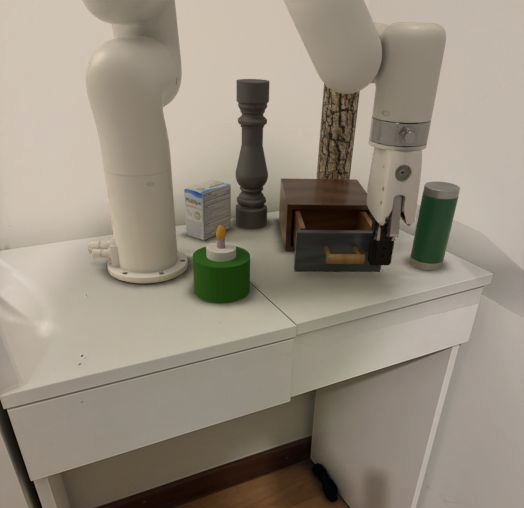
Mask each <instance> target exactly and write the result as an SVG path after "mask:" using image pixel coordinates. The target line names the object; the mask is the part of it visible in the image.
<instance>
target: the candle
mask: <svg viewBox="0 0 524 508" xmlns="http://www.w3.org/2000/svg"><path fill="white" fill-rule="evenodd" d="M226 236H227V230H225V228H224V227H223V226H222V225H220V226H218V228H217V230H216V235H215V237H216V241H214V242H209V243H208V244H206V246H203V247H200V248H198V249H197V250H195V251H194V252H193V253H192V256H191V257H192V274H193V276H192V277H193V293H194V295H195V296H196V297H197V298H198V299H200V300H202V301H205V302H208V303H211V304H231V303H236V302H239V301H241V300H243V299H246V298H247V297H248V296H249V294H250V292H251V253H250V252H249V250H246V249H245V248H243V247H240V246H237V245H236V244H235V243H233V242H229V241H226Z"/></svg>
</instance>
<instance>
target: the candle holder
mask: <svg viewBox="0 0 524 508" xmlns="http://www.w3.org/2000/svg"><path fill="white" fill-rule="evenodd" d="M269 102H270V80H268V79H261V78H260V79H259V78H241V79H240V78H239V79H236V103H237V107H238V109H239V112H240V114H241V115H240V116H239V117H238V118H237V124H239V125H240V128H241V145H240V150H239V154H238V155H239V156H238V159H237V164H236V169H235V180H236V182H237V184H238V185H239V186H240V187H239V190H240V191H241V192H239V194H238V196H237V197H236V202H237V204H236V205H235V225H236V226H237V227H238V228H240V229H241V228H242V229H247V230H257V229H263V228H265V227H266V226H267V225H268V205H266V202H267V197H266V196H265V195H264V193H263V191H264V186H265V185H266V183H267V181H268V179H269V172H268V166H267V162H266V155H265V150H264V146H263V145H264V128H265V126H266V125H267V124H268V119H267V118H266V117H265V116H264V114H265V113H266V110H267V108H268V103H269Z"/></svg>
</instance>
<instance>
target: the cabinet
mask: <svg viewBox="0 0 524 508" xmlns="http://www.w3.org/2000/svg"><path fill="white" fill-rule="evenodd" d="M279 187H280V188H279V206H278V207H279V209H278V210H279V211H278V222H279V227H280V232H281V237H282V242H283V247H284V248H283V249H284V251H285V252H295V248H294V244H293V240H292V236H291V235H292V218H293V209H300V210H365V211H366V213H367V214H368V216H369V217H370V219H371V220H372V219H373V215H372V213H371V212H370V210H369V209H368V206H367V190H365V188H364V187H363V186H362V184H361V183H360V181H359V180H358V179H352V178H350V179H316V178H280V185H279Z"/></svg>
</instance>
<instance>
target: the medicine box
mask: <svg viewBox="0 0 524 508" xmlns="http://www.w3.org/2000/svg"><path fill="white" fill-rule="evenodd" d="M231 186H232V185H231V184H230V183H227V182H224V181H221V180H217V179H211V180H207V181H204V182H200V183H198V184H194V185H192V186H188V187H186V188H184V190H183V192H184V210H185V212H184V213H185V226H186V227H185V230H186V235H187V236H189V237H192V238H195V239H198V240H201V241H206V240H207V239H209V238H212V237H214V236H216V230H217V228H218V226H220V225H222V226H223V227H224V228H225V231H227V230H230V229H231V227H232V221H231V220H232V219H231V216H232V215H231V214H232V212H231V211H232V209H231V207H232V206H231V205H232V200H231V199H232V195H231V194H232V192H231V191H232V190H231V189H232V187H231Z"/></svg>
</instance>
